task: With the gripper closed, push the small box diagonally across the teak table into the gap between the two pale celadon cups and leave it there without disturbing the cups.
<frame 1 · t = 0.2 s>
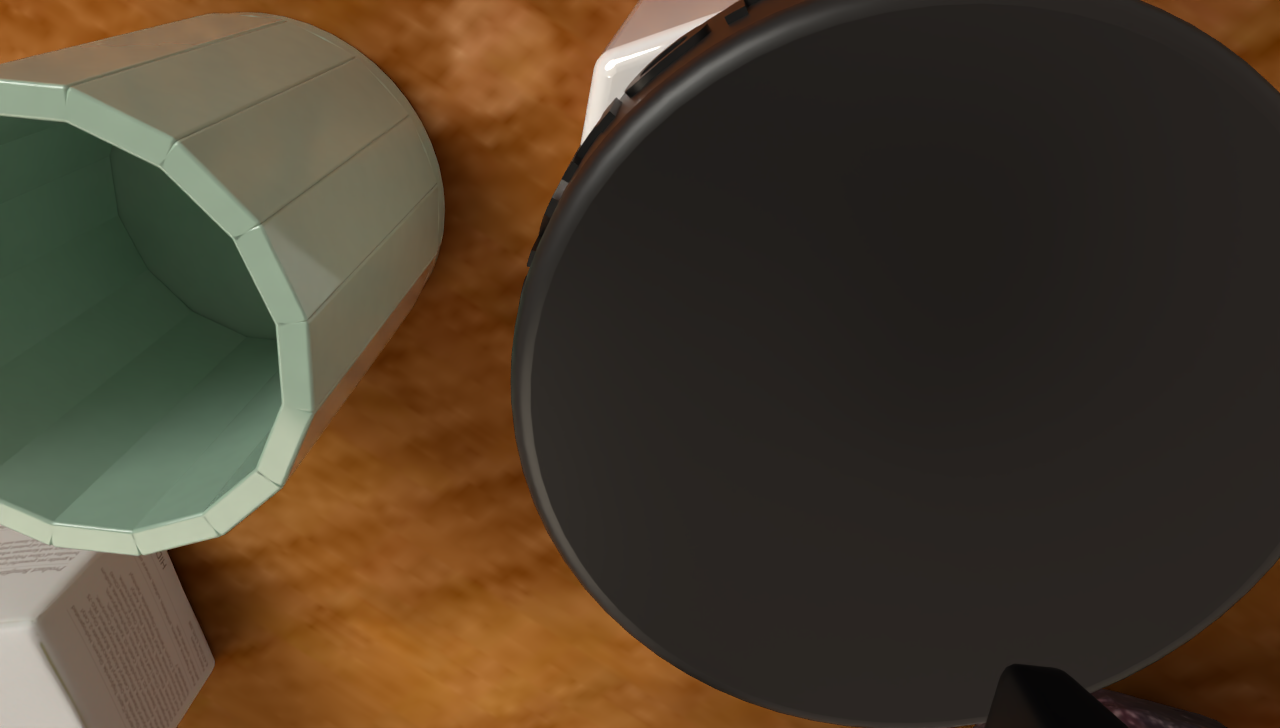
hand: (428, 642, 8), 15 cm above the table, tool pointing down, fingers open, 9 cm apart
small box: (94, 588, 27), on the table
jar: (812, 140, 21), on the table
cup 1: (275, 192, 22), on the table
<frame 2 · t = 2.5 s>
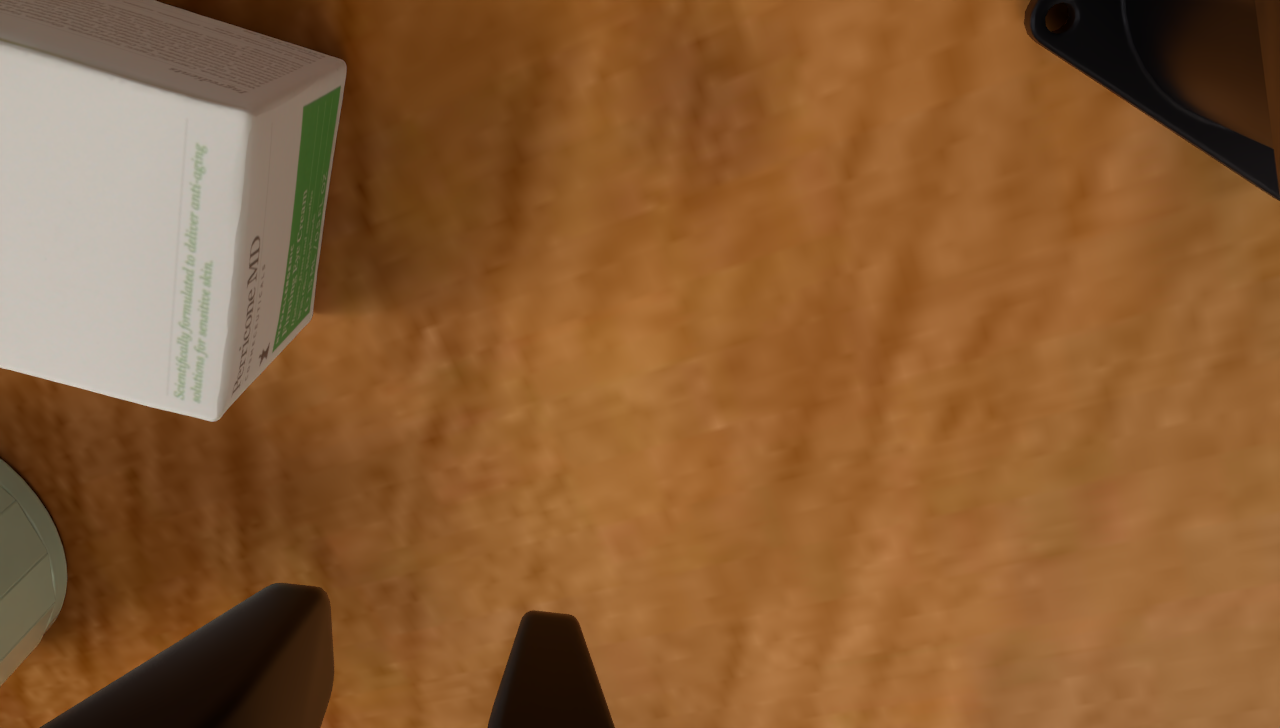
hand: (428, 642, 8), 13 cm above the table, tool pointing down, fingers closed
small box: (203, 154, 20), on the table
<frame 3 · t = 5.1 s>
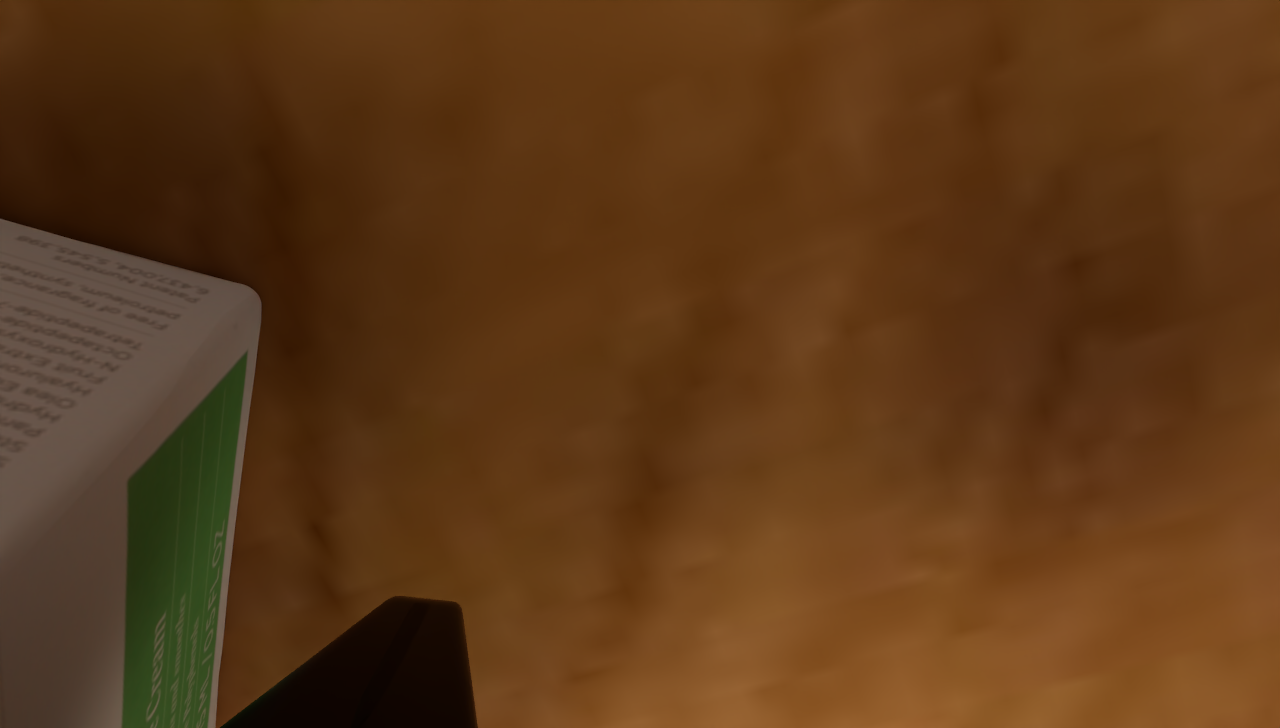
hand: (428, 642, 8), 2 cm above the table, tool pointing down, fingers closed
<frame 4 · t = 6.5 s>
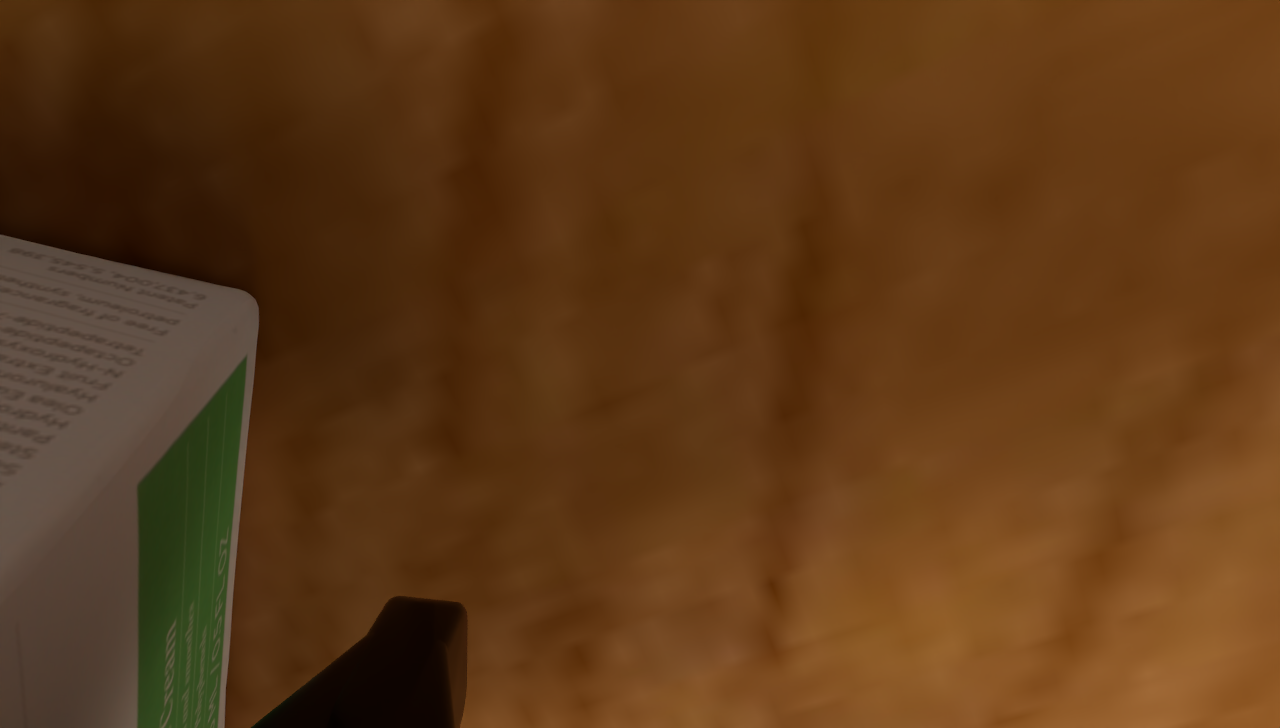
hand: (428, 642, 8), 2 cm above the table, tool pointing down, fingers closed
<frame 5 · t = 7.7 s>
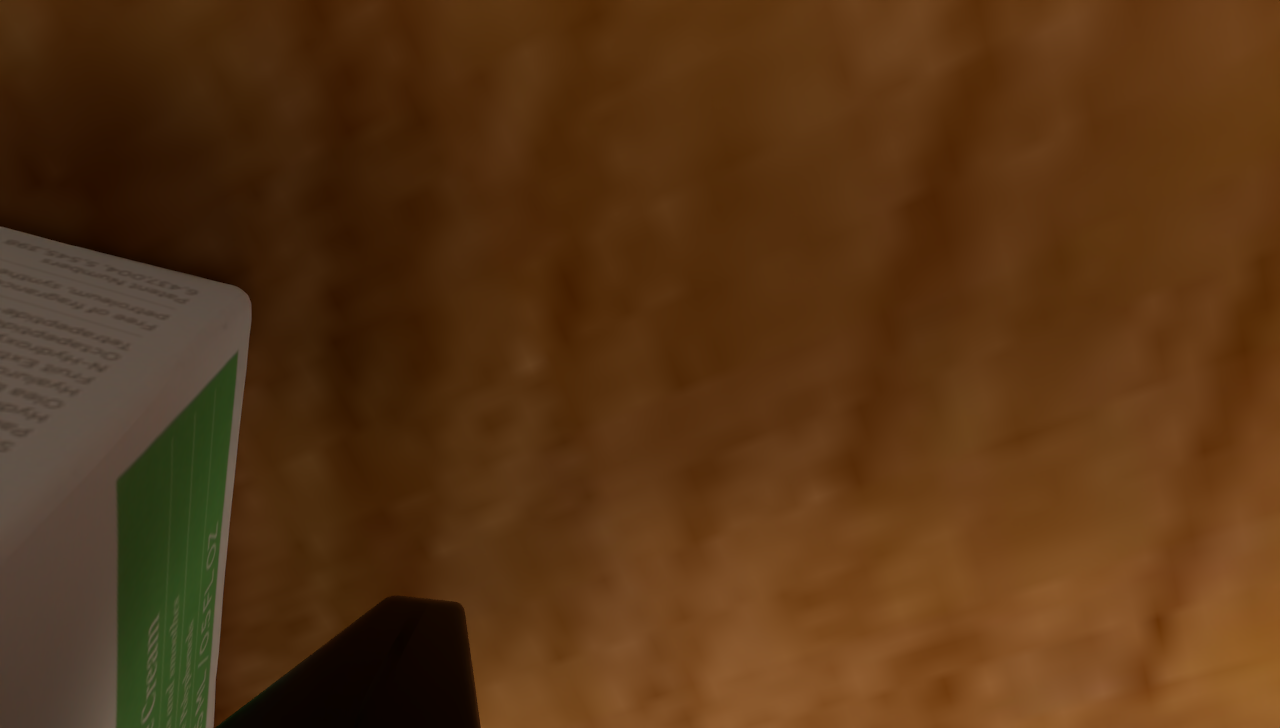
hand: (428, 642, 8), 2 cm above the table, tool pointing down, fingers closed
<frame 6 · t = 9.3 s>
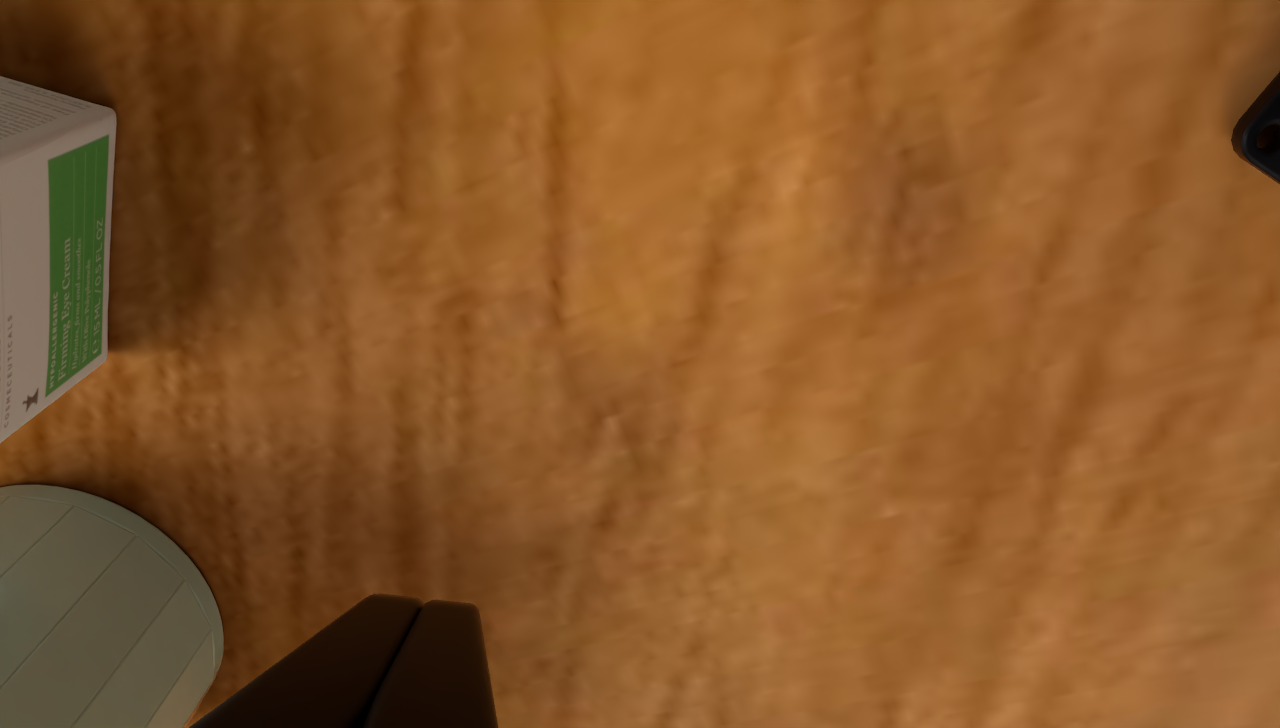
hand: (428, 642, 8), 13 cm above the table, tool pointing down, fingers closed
cup 2: (74, 613, 25), on the table
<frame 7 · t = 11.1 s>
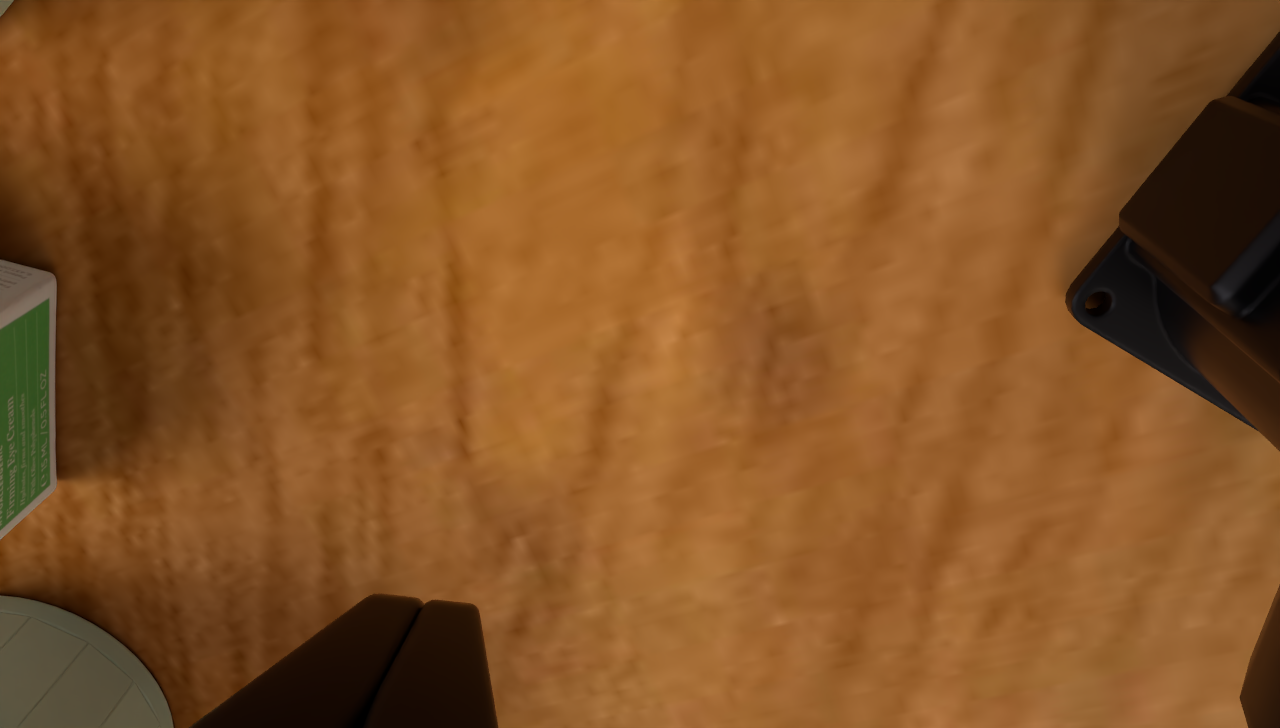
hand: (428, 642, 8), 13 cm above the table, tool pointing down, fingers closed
cup 2: (36, 707, 27), on the table
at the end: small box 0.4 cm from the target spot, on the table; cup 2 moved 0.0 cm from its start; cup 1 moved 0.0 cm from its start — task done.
